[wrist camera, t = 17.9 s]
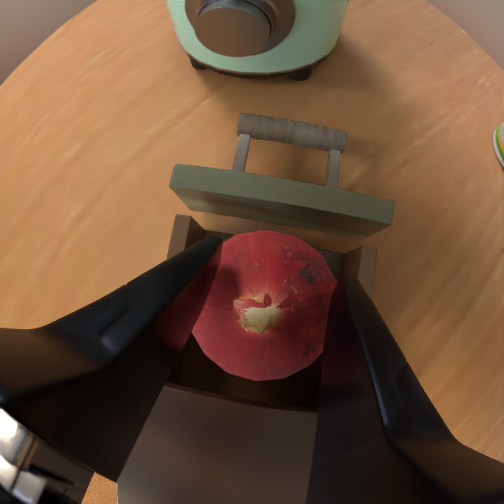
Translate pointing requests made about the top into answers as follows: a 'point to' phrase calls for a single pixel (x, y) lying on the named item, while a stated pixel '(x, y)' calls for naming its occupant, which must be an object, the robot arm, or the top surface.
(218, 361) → the onion
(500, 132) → the supplement bottle
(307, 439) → the cabinet
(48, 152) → the top surface
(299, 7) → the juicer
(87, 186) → the top surface
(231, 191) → the drawer
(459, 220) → the top surface
